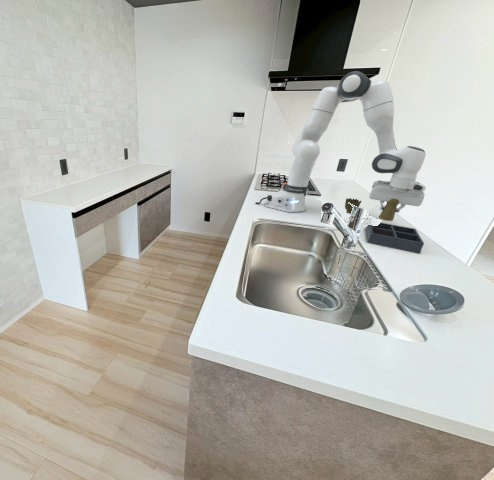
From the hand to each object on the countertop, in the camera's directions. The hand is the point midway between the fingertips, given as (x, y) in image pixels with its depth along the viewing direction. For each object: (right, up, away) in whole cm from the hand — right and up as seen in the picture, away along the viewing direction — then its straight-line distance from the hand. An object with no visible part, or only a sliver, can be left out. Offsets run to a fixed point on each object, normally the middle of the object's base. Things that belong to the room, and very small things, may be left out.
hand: (389, 210), depth 128 cm
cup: (-5, +1, +22) cm, 23 cm away
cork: (0, -4, +2) cm, 4 cm away
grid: (-8, -14, -10) cm, 19 cm away
